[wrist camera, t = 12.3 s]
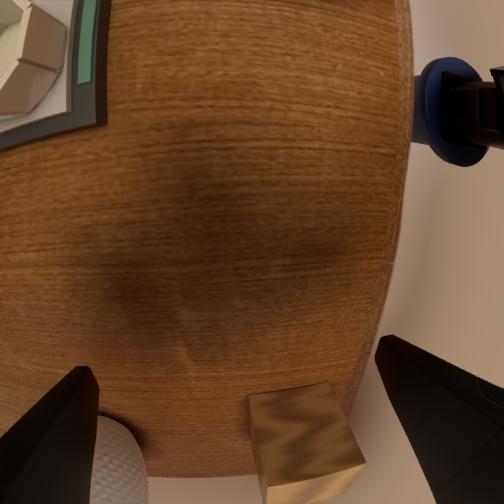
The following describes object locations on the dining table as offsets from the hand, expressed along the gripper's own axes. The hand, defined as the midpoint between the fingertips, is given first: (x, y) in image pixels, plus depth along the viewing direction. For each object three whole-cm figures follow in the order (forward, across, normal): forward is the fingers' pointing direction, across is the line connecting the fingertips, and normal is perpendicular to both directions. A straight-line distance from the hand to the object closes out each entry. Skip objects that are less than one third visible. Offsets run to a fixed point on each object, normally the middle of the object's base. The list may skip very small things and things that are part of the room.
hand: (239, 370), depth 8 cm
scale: (+12, +11, -13) cm, 21 cm away
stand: (+12, -6, +20) cm, 24 cm away
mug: (+12, +16, +22) cm, 30 cm away
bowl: (+9, +12, -12) cm, 19 cm away
